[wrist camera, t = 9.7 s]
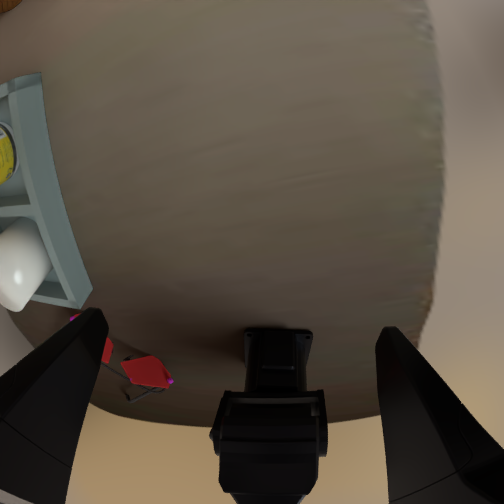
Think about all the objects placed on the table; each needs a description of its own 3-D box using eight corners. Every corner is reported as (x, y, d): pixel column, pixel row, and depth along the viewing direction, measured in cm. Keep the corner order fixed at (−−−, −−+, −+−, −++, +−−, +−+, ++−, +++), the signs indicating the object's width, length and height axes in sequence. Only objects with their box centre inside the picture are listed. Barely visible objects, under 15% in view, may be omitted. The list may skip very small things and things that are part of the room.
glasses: (179, 364, 34) (170, 399, 30) (128, 394, 41) (120, 420, 37) (80, 299, 29) (60, 332, 25) (54, 348, 37) (41, 373, 33)
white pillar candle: (64, 273, 25) (34, 316, 20) (25, 269, 26) (-5, 306, 21) (43, 216, 22) (2, 256, 17) (4, 217, 22) (-33, 252, 17)
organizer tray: (93, 288, 27) (80, 309, 25) (24, 279, 28) (11, 295, 25) (40, 72, 15) (14, 78, 13) (-28, 105, 16) (-50, 115, 13)
